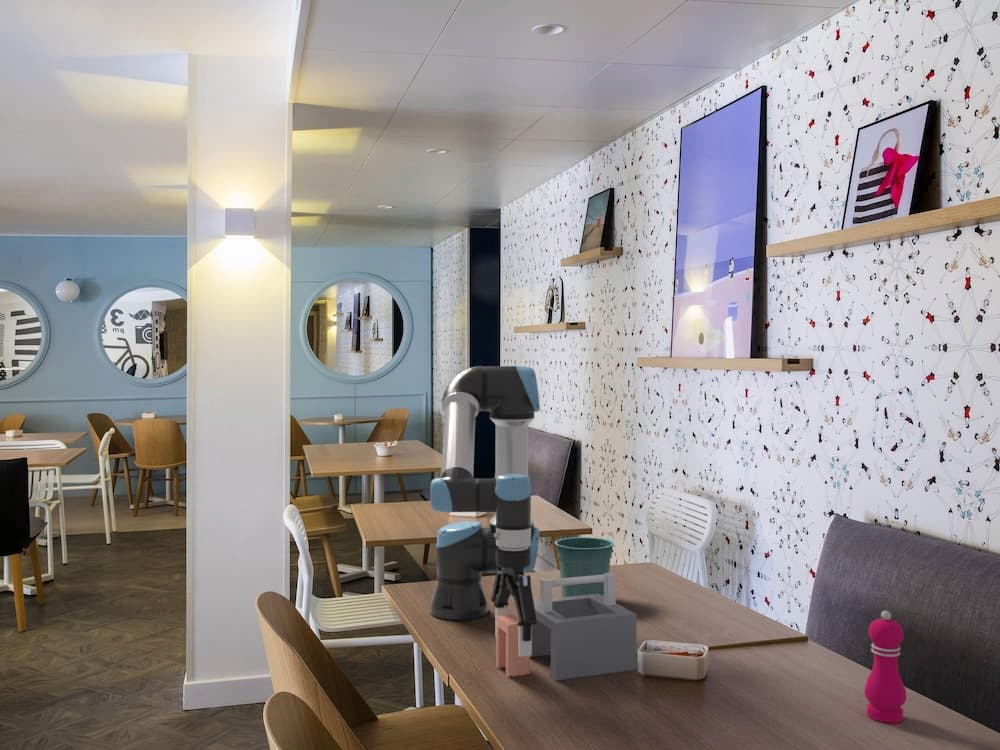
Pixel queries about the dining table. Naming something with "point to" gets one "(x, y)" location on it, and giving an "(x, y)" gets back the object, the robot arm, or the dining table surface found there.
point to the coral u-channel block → (509, 646)
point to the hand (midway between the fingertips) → (512, 646)
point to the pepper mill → (885, 672)
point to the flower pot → (583, 563)
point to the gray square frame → (584, 630)
